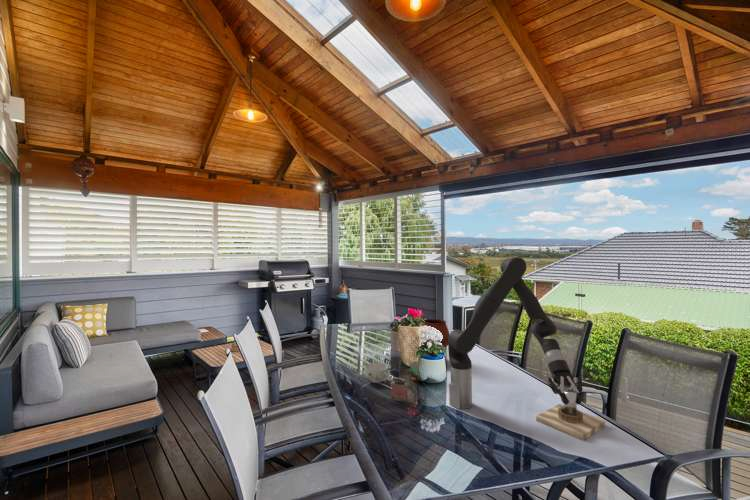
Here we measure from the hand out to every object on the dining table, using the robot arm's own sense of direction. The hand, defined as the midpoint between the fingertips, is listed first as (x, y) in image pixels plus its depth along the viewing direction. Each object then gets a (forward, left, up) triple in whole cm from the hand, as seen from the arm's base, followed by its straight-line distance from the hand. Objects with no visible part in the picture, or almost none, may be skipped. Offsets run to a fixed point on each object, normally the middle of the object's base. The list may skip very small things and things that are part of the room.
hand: (572, 403), depth 138 cm
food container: (-16, +71, -9) cm, 73 cm away
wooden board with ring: (+1, +2, -9) cm, 9 cm away
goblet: (+11, +89, -9) cm, 90 cm away
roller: (+1, +2, -4) cm, 5 cm away
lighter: (-40, +60, -9) cm, 72 cm away
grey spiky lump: (-36, +83, -9) cm, 91 cm away
